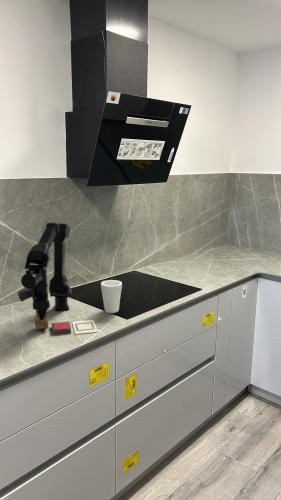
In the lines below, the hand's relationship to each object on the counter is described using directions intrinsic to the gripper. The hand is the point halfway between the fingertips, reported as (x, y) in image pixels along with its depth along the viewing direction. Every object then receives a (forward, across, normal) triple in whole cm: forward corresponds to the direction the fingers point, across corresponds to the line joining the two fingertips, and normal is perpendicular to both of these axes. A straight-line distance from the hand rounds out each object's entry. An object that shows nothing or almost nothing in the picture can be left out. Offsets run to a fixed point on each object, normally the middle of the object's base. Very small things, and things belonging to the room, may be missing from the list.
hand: (41, 317), depth 158 cm
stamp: (+4, 0, 0) cm, 4 cm away
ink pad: (+5, +2, +8) cm, 9 cm away
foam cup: (+5, -13, +32) cm, 34 cm away
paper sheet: (+5, +2, +17) cm, 18 cm away
